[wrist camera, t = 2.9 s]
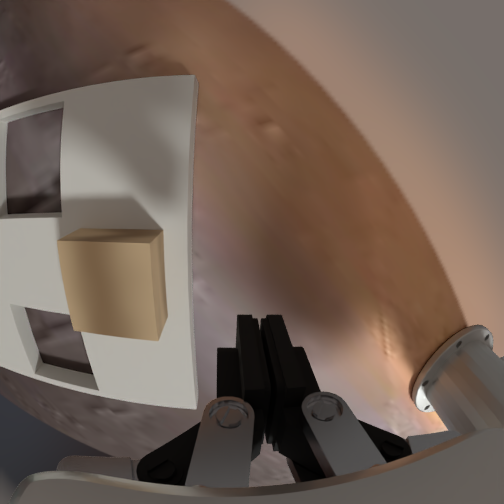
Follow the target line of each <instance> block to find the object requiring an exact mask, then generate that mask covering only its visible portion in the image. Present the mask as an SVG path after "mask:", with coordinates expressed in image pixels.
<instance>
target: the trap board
mask: <svg viewBox="0 0 504 504" xmlns="http://www.w3.org/2000/svg"><path fill="white" fill-rule="evenodd" d="M198 87H199V83H198V80H197V78H196V76H195V75H175V76H159V77H147V78H137V79H128V80H121V81H114V82H107V83H101V84H95V85H90V86H85V87H80V88H75V89H70V90H66V91H62V92H58V93H54V94H50V95H46V96H43V97H39V98H36V99H32V100H29V101H26V102H23V103H20V104H17V105H14V106H11V107H8V108H5V109H3V110H0V366H2V367H4V368H7V369H9V370H12V371H15V372H17V373H20V374H23V375H26V376H29V377H32V378H35V379H38V380H41V381H44V382H47V383H51V384H54V385H57V386H61V387H65V388H68V389H72V390H76V391H80V392H84V393H89V394H93V395H98V396H102V397H107V398H112V399H118V400H123V401H129V402H135V403H142V404H149V405H157V406H165V407H175V408H186V409H197V401H198V383H197V370H196V355H195V337H194V315H193V284H192V198H193V166H194V145H195V127H196V112H197V99H198ZM60 108H64V110H63V120H62V134H61V159H60V183H61V208H62V212H54V213H25V214H8V211H7V197H6V140H7V126H8V122H11V121H14V120H17V119H21V118H24V117H28V116H31V115H35V114H39V113H43V112H47V111H51V110H56V109H60ZM80 228H91V229H147V230H163V234H164V263H165V282H166V298H167V311H168V318H167V320H166V323H165V325H164V328H163V331H162V333H161V336H160V339H159V341H150V340H140V339H131V338H123V337H115V336H107V335H100V334H93V333H87V332H81V334H82V337H83V341H84V345H85V348H86V352H87V355H88V358H89V362H90V365H91V368H92V371H93V374H94V375H92V374H87V373H83V372H78V371H74V370H69V369H65V368H61V367H57V366H53V365H50V364H46V363H43V361H42V359H41V356H40V353H39V351H38V348H37V345H36V342H35V339H34V337H33V334H32V330H31V327H30V324H29V321H28V318H27V314H26V311H25V307H28V308H34V309H39V310H45V311H50V312H56V313H63V314H69V315H70V313H69V309H68V304H67V300H66V295H65V290H64V285H63V279H62V274H61V268H60V261H59V254H58V247H57V240H59V239H61V238H63V237H64V236H66V235H68V234H70V233H72V232H74V231H76V230H78V229H80Z"/></svg>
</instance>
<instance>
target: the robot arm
mask: <svg viewBox="0 0 504 504" xmlns="http://www.w3.org/2000/svg"><path fill="white" fill-rule="evenodd" d="M492 349H493V336H492V333H491V332H490V331H489V330H488V329H487V328H486V327H484V326H482V325H474V326H470V327H467V328H465V329H463V330H461V331H460V332H458V333H456V334H455V335H454V336H452V337H451V338H450V339H448V340H447V341H446V342H445V343H444V344H443V345H442V346H441V347H440V348H439V349H438V350H437V351H436V352H435V353H434V354H433V355H432V357H431V358H430V359H429V361H428V362H427V363H426V364H425V366H424V368H423V369H422V371H421V372H420V374H419V376H418V378H417V380H416V382H415V385H414V388H413V392H412V399H413V402H414V404H415V405H416V407H417V408H418V409H419V410H420V411H422V412H432V411H436V413H437V414H438V416H439V417H440V419H441V420H442V421H443V423H444V424H445V426H446V427H447V429H448V430H449V431H444V432H438V433H431V434H424V435H416V436H408V437H407V439H403V438H401V437H399V436H397V435H395V434H392V433H390V432H387V431H384V430H382V429H379V428H377V427H375V426H372V425H370V424H367V423H365V422H363V421H360V420H358V419H357V418H356V417H355V415H354V414H353V412H352V411H351V409H350V408H349V406H348V405H347V404H346V402H345V401H344V400H343V399H342V398H341V397H339V396H338V395H336V394H333V393H330V392H321V391H320V389H319V386H318V384H317V381H316V378H315V376H314V373H313V371H312V368H311V366H310V363H309V361H308V358H307V355H306V353H305V350H304V348H303V347H292V344H291V341H290V338H289V335H288V332H287V329H286V326H285V323H284V320H283V318H282V315H267V316H266V318H262V319H261V325H260V329H259V324H258V319H257V318H252V315H237V332H236V348H217V398H216V399H214V400H212V401H211V402H209V403H208V404H207V405H206V407H205V409H204V412H203V416H202V420H201V422H199V423H198V424H196V425H195V426H193V427H192V428H190V429H189V430H187V431H186V432H184V433H182V434H181V435H179V436H178V437H176V438H174V439H173V440H171V441H170V442H168V443H166V444H165V445H163V446H161V447H160V448H158V449H156V450H154V451H153V452H151V453H149V454H147V455H146V456H145V457H143V458H142V459H141V460H131V458H130V457H89V456H68V457H66V458H64V459H62V460H61V462H60V463H59V464H58V467H57V471H48V472H41V473H36V474H33V475H30V476H28V477H26V478H25V479H24V480H23V481H22V482H21V483H20V484H19V485H18V487H17V488H16V489H15V491H14V493H13V495H12V497H11V499H10V501H9V503H8V504H504V356H503V357H501V358H499V357H498V356H497V355H496V354H495V353H494V352H493V351H492ZM264 434H265V436H266V442H267V444H272V446H273V451H279V453H281V454H282V455H284V456H286V457H287V458H286V459H287V464H288V466H289V469H290V471H291V473H292V476H293V478H294V480H295V483H293V484H284V485H274V486H261V487H249V476H250V465H251V461H252V460H254V459H255V458H256V457H257V456H258V455H259V454H260V450H261V444H263V440H264Z"/></svg>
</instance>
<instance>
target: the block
mask: <svg viewBox="0 0 504 504" xmlns="http://www.w3.org/2000/svg"><path fill="white" fill-rule="evenodd" d="M57 247H58V254H59V261H60V268H61V274H62V279H63V285H64V290H65V295H66V300H67V304H68V309H69V313H70V317H71V321H72V325H73V329H74V330H75V331H81V332H87V333H93V334H100V335H107V336H115V337H123V338H131V339H140V340H150V341H159V339H160V336H161V333H162V331H163V328H164V325H165V323H166V320H167V318H168V311H167V298H166V282H165V263H164V234H163V230H147V229H91V228H80V229H78V230H76V231H74V232H72V233H70V234H68V235H66V236H64V237H63V238H61V239H59V240H57Z"/></svg>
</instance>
